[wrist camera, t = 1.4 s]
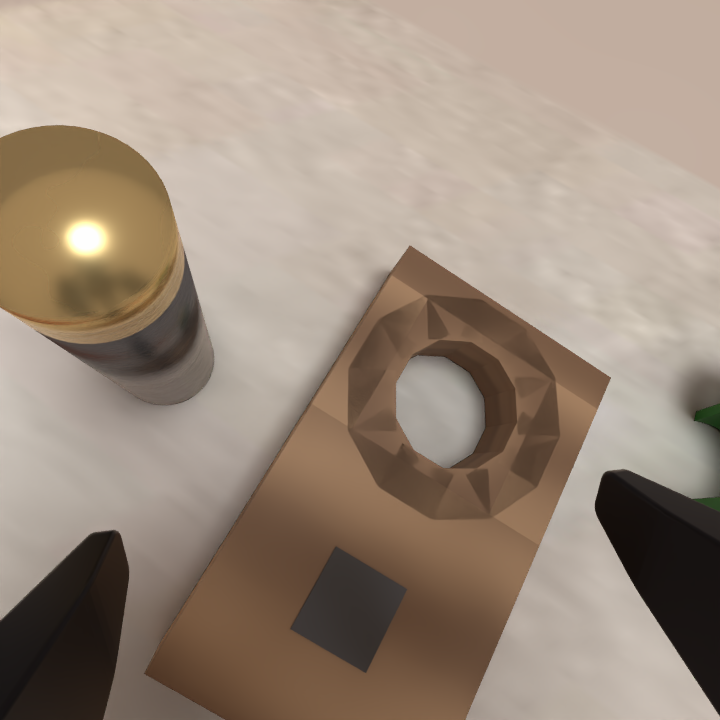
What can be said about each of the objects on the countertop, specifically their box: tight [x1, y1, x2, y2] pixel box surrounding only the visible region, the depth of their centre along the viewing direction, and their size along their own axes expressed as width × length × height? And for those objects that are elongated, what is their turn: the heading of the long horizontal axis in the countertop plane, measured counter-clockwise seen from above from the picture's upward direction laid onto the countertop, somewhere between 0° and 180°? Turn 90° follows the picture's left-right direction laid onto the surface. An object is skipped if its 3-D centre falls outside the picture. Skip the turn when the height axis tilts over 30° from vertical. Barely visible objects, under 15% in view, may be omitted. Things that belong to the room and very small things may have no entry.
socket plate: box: [144, 246, 611, 720], centre depth 22 cm, size 19×11×3 cm, turn 150°
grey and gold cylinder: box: [0, 125, 214, 405], centre depth 16 cm, size 4×4×13 cm
